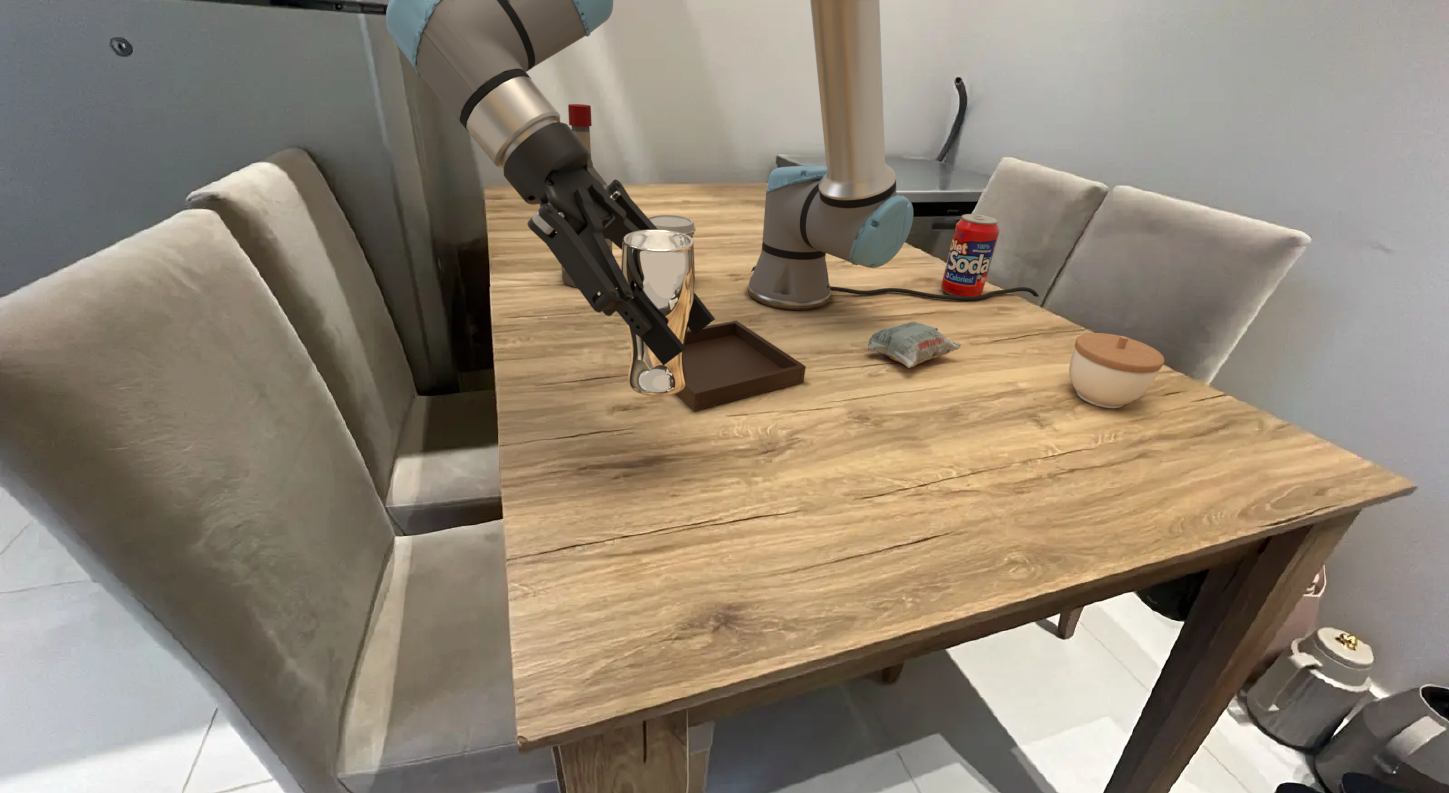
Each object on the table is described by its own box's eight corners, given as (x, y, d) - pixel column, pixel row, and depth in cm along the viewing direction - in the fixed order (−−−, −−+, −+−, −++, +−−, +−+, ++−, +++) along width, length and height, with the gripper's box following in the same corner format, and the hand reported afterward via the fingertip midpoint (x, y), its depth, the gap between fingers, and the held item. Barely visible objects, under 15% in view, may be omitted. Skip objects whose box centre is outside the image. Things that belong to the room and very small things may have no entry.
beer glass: (610, 389, 63) (605, 242, 56) (643, 361, 69) (642, 225, 61) (672, 405, 61) (675, 255, 54) (701, 375, 67) (708, 236, 59)
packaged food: (956, 361, 97) (964, 331, 95) (906, 379, 91) (913, 347, 88) (911, 340, 103) (917, 312, 101) (862, 356, 97) (867, 326, 94)
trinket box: (1155, 422, 84) (1184, 359, 79) (1071, 410, 85) (1095, 348, 81) (1125, 385, 93) (1150, 327, 89) (1050, 375, 95) (1070, 317, 90)
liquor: (563, 288, 114) (550, 107, 99) (562, 272, 121) (550, 101, 106) (614, 287, 116) (609, 109, 101) (610, 271, 123) (605, 103, 109)
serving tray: (735, 335, 100) (736, 320, 99) (803, 382, 88) (806, 366, 86) (634, 355, 92) (634, 339, 90) (694, 411, 79) (695, 393, 78)
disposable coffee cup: (686, 295, 114) (688, 230, 108) (636, 289, 116) (635, 223, 110) (698, 279, 123) (701, 217, 117) (651, 273, 124) (652, 211, 118)
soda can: (977, 289, 127) (997, 215, 120) (984, 303, 121) (1006, 225, 113) (937, 285, 128) (955, 211, 121) (942, 298, 122) (961, 220, 114)
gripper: (568, 158, 68) (701, 324, 72) (435, 192, 51) (618, 405, 55) (610, 109, 64) (749, 288, 68) (481, 129, 47) (674, 364, 51)
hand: (690, 340), depth 61 cm, fingers closed on beer glass, 7 cm apart
